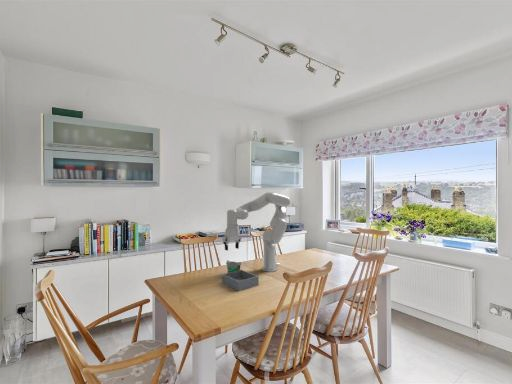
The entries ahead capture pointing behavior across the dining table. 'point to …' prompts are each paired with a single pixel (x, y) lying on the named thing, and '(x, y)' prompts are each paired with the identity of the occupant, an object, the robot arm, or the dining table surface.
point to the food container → (233, 266)
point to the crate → (240, 280)
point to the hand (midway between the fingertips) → (231, 249)
